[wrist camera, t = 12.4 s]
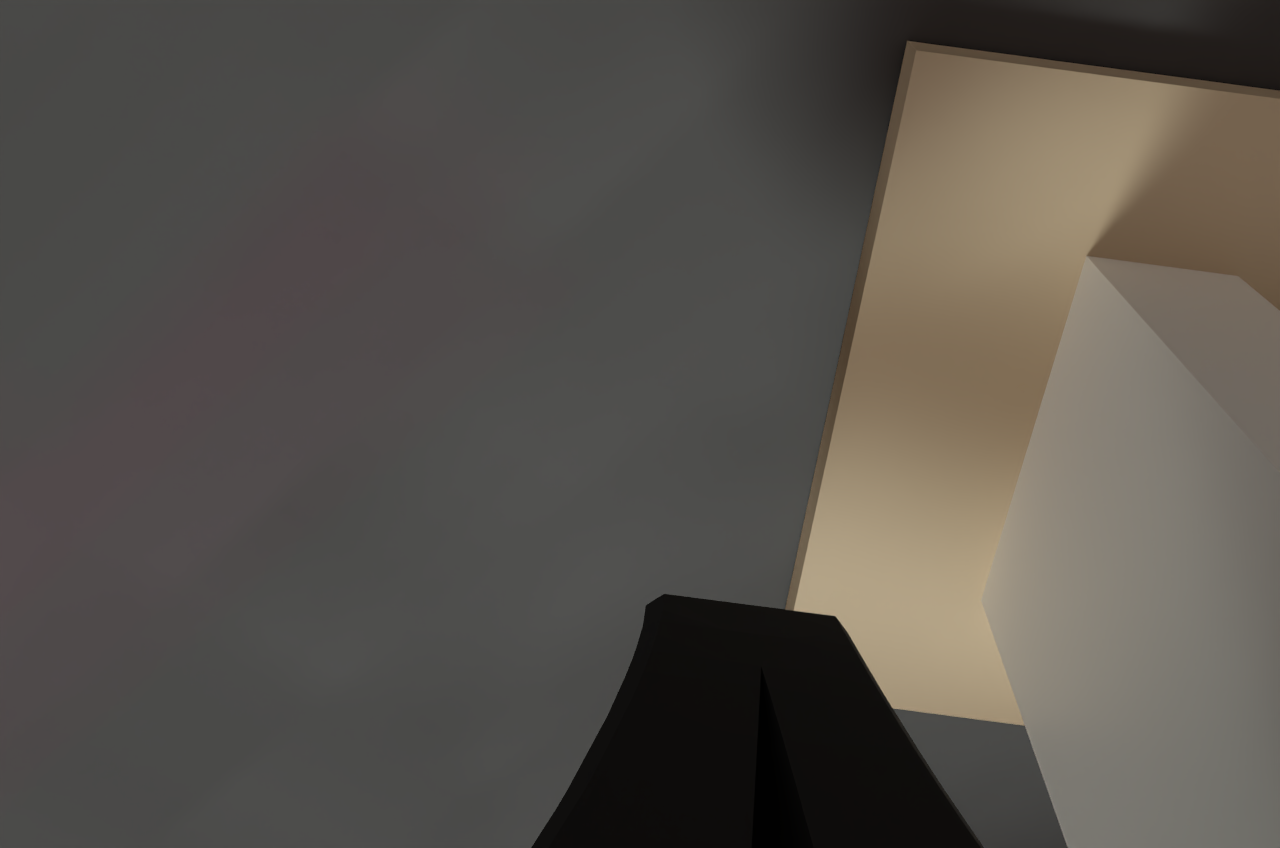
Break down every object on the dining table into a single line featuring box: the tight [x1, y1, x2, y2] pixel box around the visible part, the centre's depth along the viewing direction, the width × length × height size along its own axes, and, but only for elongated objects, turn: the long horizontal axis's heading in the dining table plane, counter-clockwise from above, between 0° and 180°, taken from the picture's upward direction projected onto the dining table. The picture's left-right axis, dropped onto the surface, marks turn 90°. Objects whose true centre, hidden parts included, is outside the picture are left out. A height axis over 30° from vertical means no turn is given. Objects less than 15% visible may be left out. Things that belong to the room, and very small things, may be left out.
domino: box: [981, 256, 1280, 848], centre depth 10 cm, size 2×4×7 cm, turn 173°
